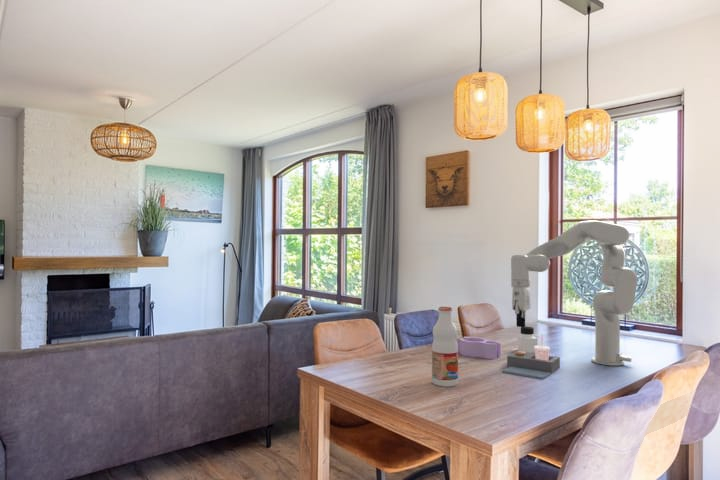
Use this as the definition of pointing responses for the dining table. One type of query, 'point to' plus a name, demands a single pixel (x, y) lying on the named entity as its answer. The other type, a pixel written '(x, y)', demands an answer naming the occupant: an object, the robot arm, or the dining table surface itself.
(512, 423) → the dining table surface
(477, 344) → the purple cup holder
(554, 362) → the grey desk organizer
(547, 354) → the beverage cup
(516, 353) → the plunger
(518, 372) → the mat
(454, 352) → the fruit juice
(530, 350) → the medicine bottle
